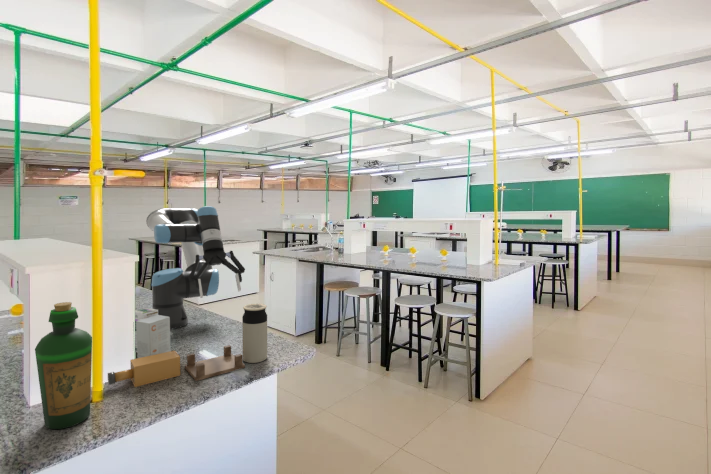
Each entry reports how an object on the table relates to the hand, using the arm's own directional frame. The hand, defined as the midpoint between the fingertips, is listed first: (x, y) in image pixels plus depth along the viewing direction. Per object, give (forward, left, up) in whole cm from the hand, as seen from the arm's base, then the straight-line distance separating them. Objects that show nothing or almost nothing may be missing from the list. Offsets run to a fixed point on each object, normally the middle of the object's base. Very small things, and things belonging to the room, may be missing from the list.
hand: (221, 293), depth 140 cm
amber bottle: (+19, -29, -18) cm, 39 cm away
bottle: (+31, -47, -18) cm, 59 cm away
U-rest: (+23, -10, -18) cm, 31 cm away
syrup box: (-5, -24, -18) cm, 31 cm away
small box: (+2, -23, -18) cm, 30 cm away
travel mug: (+24, +3, -18) cm, 30 cm away
